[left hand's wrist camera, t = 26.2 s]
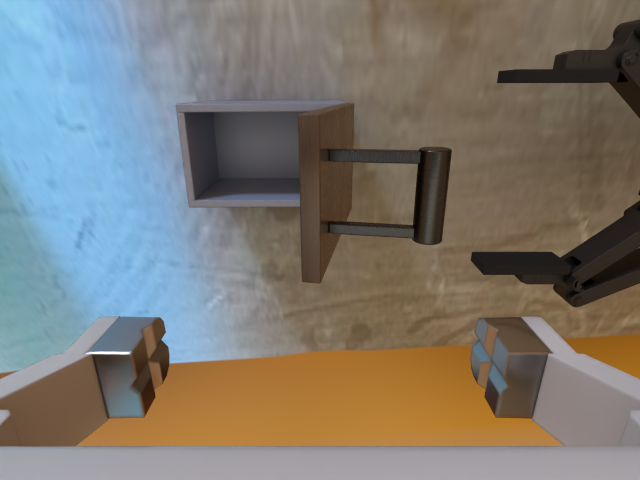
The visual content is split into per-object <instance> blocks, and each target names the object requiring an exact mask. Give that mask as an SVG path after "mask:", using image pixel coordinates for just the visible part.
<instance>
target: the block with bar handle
mask: <svg viewBox="0 0 640 480" xmlns="http://www.w3.org/2000/svg"><path fill="white" fill-rule="evenodd" d="M353 127H354V104H353V103H341V104H337V105H333V106H329V107H325V108H321V109H317V110H313V111H309V112H305V113H301V114H298V144H299V185H300V225H301V266H302V282H309V283H321V281H322V279H323V276H324V274H325V271H326V269H327V266H328V264H329V262H330V259H331V257H332V254H333V252H334V250H335V247H336V245H337V242H338V240H339V237H340V235H341V234H348V235H365V236H382V237H399V238H412V240H413V241H415V242H417V243H420V244H425V245H435V244H439V243H440V242H441V241H442V234H443V225H444V216H445V207H446V198H447V189H448V180H449V171H450V162H451V153H452V150H451V149H449V148H444V147H422V148H420V149H419V150H378V149H353ZM353 162H370V163H408V164H418V170H417V182H416V194H415V206H414V218H413V225H400V224H382V223H363V222H346V220H347V218H348V216H349V213H350V211H351V208H352V169H353Z"/></svg>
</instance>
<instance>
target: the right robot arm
mask: <svg viewBox="0 0 640 480" xmlns="http://www.w3.org/2000/svg"><path fill="white" fill-rule="evenodd" d="M613 38H614V40H613V42H612V44H611V45H610V46H609V47H608V48H607V49H606V50H574V51H567V52H563V53H560V54H558V55H556V56H555V61H554V66H553V69H537V70H507V71H499V73H498V80H497V83H604V82H609V83H610V84H611V85H612V86H613V87H614V89H615V90H616V91H617V92H618V93H619V94H620V96H621V97H622V98H623V99H624V100H625V101H626V103H627V104H628V105H629V106H630V107H631V108H632V110H633V111H634V112H635V113H636V114H637V115H638V117H639V118H640V20H635V21H631V22H626V23H622V24H620V25H618V26H617V27H616V28H615V30H614V32H613ZM638 195H640V191H639V194H638ZM639 247H640V201H638V202H637V203H635V204H634V205H632V206H631V207H629V208H628V209H626V210H625V211H624V216H623V217H622V218H620V219H619V220H617V221H616V222H614V223H612V224H611V225H609V226H608V227H606V228H605V229H603V230H602V231H600V232H599V233H597V234H596V235H594V236H593V237H591V238H590V239H588V240H587V241H585V242H584V243H582V244H581V245H579V246H578V247H576V248H575V249H573V250H571V251H570V252H568V253H567V254H565V255H564V256H562V257H561V258H560V257H558V256H557V255H555V254H554V253H552V252H472V256H471V261H472V262H473V263H474V264H475V266H476V267H477V268H478V269H479V270H480V271H481V272H482V274H483V275H515V276H516V277H517V278H518V279H519V280H520V281H521V282H523V283H525V284H554V286H553V289H554V291H555V292H556V293H557V294H559V295H560V296H561V297H562V298H563V299H564V300H565V301H567V302H568V303H569V304H570V305H571V306H573V307H580V306H582V305H585V304H588V303H590V302H593V301H595V300H598V299H600V298H603V297H605V296H608V295H611V294H613V293H616V292H618V291H621V290H623V289H626V288H628V287H631V286H634V285H636V284H639V283H640V248H639ZM637 248H638V249H637Z"/></svg>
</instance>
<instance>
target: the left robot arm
mask: <svg viewBox="0 0 640 480" xmlns="http://www.w3.org/2000/svg"><path fill="white" fill-rule="evenodd" d="M165 333H166V331H165V326H164V321H163V320H162V319H161V318H160V317H120V316H116V317H100V318H98V319H97V320H96V321H95V322H94V323H93V324H92V325H91V326H90V327H89V328H88V329H87V330H86V331H85V332H84V333H83V334H82V335H81V336H80V337H79V338H78V339H77V340H76V341H75V342H74V343H73V344H72V345H71V346H70V347H69V348H68V349H67V350H66V351H65V352H64V353H63V354H55V355H53V356H50V357H48V358H46V359H44V360H42V361H39V362H37V363H35V364H33V365H31V366H28V367H26V368H24V369H22V370H20V371H17V372H15V373H13V374H11V375H9V376H6V377H4V378H2V379H0V480H640V379H638V378H636V377H634V376H631V375H629V374H627V373H625V372H623V371H620V370H618V369H616V368H614V367H612V366H609V365H607V364H605V363H603V362H600V361H598V360H596V359H594V358H592V357H589V356H587V355H585V354H577V353H576V352H575V351H574V350H573V349H572V348H571V347H570V346H569V345H568V344H567V343H566V342H565V341H564V340H563V339H562V338H561V337H560V336H559V335H558V334H557V333H556V332H555V331H554V330H553V329H552V328H551V327H550V326H549V325H548V324H547V323H546V322H545V321H544V320H543V319H542V318H540V317H538V316H532V317H501V318H478V320H477V322H476V325H475V331H474V333H475V334H476V336H477V337H478V339H479V340H478V341H477V342H476V343H475V344H474V345H473V346H472V350H471V369H472V372H473V375H474V378H475V380H476V382H477V384H479V385H480V386H482V387H483V388H485V389H486V391H485V399H486V400H487V402H488V404H489V406H490V408H491V410H492V411H493V413H494V415H495V417H496V418H531V419H532V421H534V422H535V423H536V424H537V425H539V426H540V427H541V428H542V429H544V430H545V431H546V432H548V433H549V434H550V435H551V436H553V437H554V438H555V439H556V440H558V441H559V442H560V443H561V444H563V445H564V446H76V445H77V444H79V443H80V442H81V441H83V440H84V439H85V438H86V437H88V436H89V435H90V434H91V433H93V432H94V431H95V430H96V429H98V428H99V427H100V426H101V425H103V424H104V423H105V422H106V421H108V419H109V418H144V417H145V415H146V413H147V412H148V410H149V408H150V406H151V404H152V402H153V400H154V399H155V392H154V389H155V388H157V387H158V386H160V385H161V384H163V382H164V380H165V378H166V376H167V372H168V367H169V349H168V346H167V345H166V344H165V343H164V342H163V341H162V340H161V339H162V337H163V336H164V334H165Z"/></svg>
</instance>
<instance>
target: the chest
mask: <svg viewBox="0 0 640 480" xmlns="http://www.w3.org/2000/svg"><path fill="white" fill-rule="evenodd" d="M341 103H345V102H343V101H341V100H251V101H201V102H192V103H182V104H176V111H177V119H178V127H179V135H180V142H181V150H182V158H183V166H184V173H185V181H186V189H187V197H188V205H189V207H300V185H299V144H298V114H301V113H305V112H309V111H313V110H317V109H321V108H325V107H329V106H333V105H337V104H341Z"/></svg>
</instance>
